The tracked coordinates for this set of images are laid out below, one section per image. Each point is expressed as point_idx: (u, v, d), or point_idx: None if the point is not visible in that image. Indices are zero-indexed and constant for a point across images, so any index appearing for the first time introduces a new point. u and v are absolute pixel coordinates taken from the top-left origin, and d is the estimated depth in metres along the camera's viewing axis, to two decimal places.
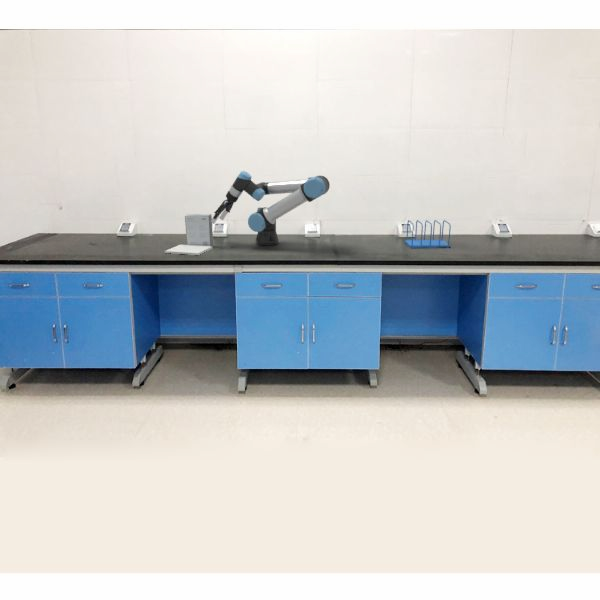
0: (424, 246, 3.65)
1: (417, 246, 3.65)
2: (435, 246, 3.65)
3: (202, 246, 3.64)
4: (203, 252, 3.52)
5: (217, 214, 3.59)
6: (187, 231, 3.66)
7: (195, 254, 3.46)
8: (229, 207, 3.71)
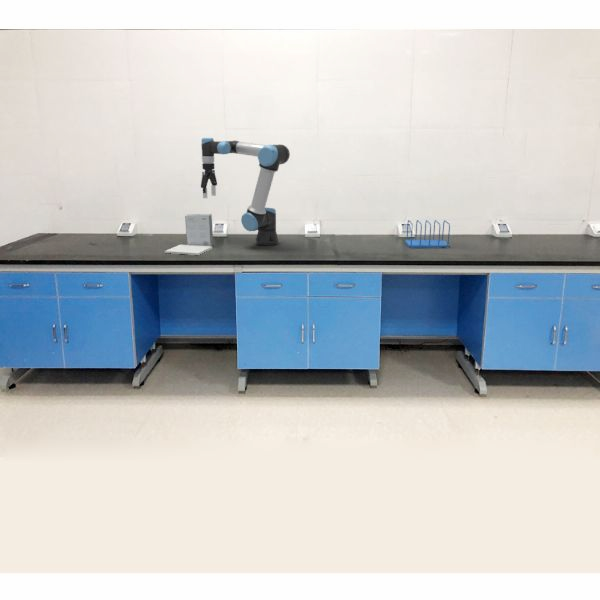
0: (423, 246, 3.65)
1: (416, 246, 3.65)
2: (434, 246, 3.65)
3: (202, 246, 3.64)
4: (203, 252, 3.52)
5: (203, 186, 3.67)
6: (187, 231, 3.66)
7: (195, 254, 3.46)
8: (213, 179, 3.79)
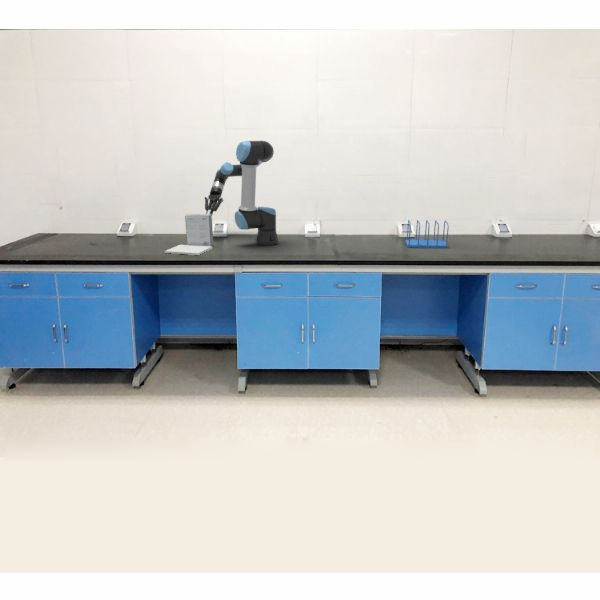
0: (421, 246, 3.65)
1: (414, 246, 3.66)
2: (432, 246, 3.65)
3: (202, 246, 3.64)
4: (203, 252, 3.52)
5: None
6: (187, 231, 3.66)
7: (195, 254, 3.46)
8: (213, 202, 3.83)
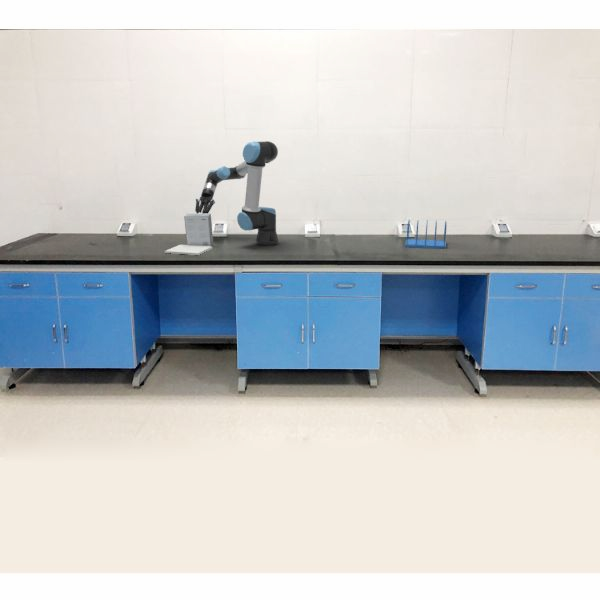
0: (419, 246, 3.66)
1: (412, 245, 3.67)
2: (430, 246, 3.65)
3: (202, 246, 3.64)
4: (203, 252, 3.52)
5: (195, 210, 3.75)
6: (187, 231, 3.66)
7: (195, 254, 3.46)
8: (204, 205, 3.75)
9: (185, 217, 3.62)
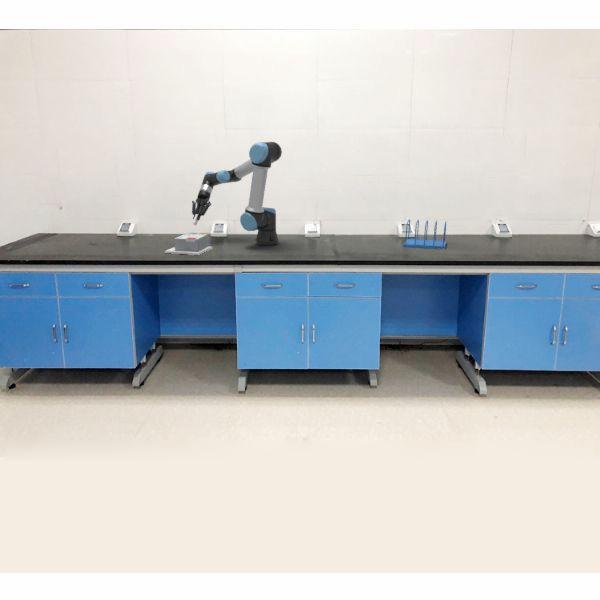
0: (417, 245, 3.67)
1: (410, 245, 3.68)
2: (429, 246, 3.65)
3: None
4: (203, 252, 3.52)
5: (192, 212, 3.67)
6: None
7: (195, 254, 3.46)
8: (200, 206, 3.68)
9: None
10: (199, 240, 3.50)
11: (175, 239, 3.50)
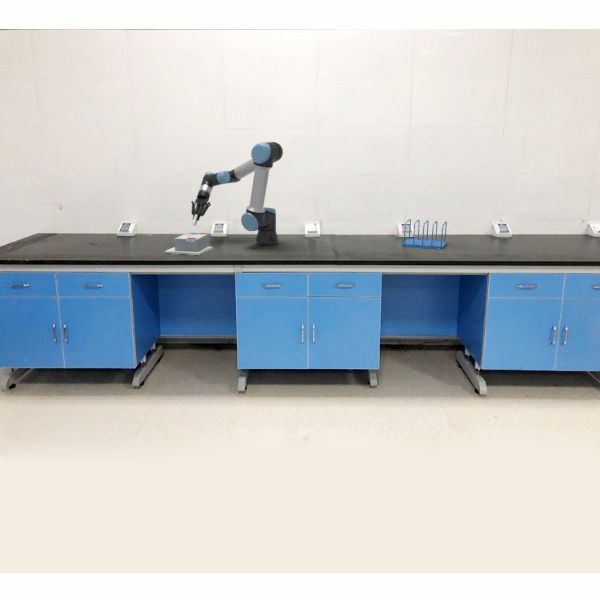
0: (416, 245, 3.67)
1: (409, 245, 3.69)
2: (427, 246, 3.65)
3: None
4: (203, 252, 3.52)
5: (191, 212, 3.65)
6: None
7: (195, 254, 3.46)
8: (200, 207, 3.66)
9: None
10: (199, 240, 3.50)
11: (175, 239, 3.50)
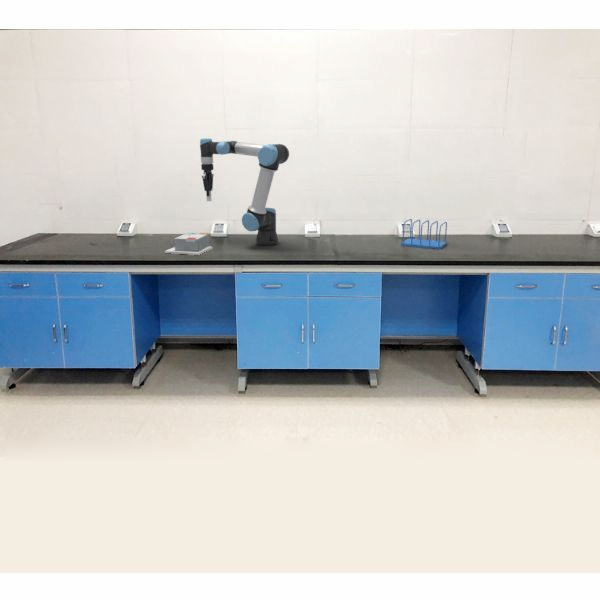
0: (414, 245, 3.68)
1: (407, 244, 3.70)
2: (424, 246, 3.65)
3: None
4: (203, 252, 3.52)
5: (207, 189, 3.73)
6: None
7: (195, 254, 3.46)
8: (210, 181, 3.76)
9: None
10: (199, 240, 3.50)
11: (175, 239, 3.50)
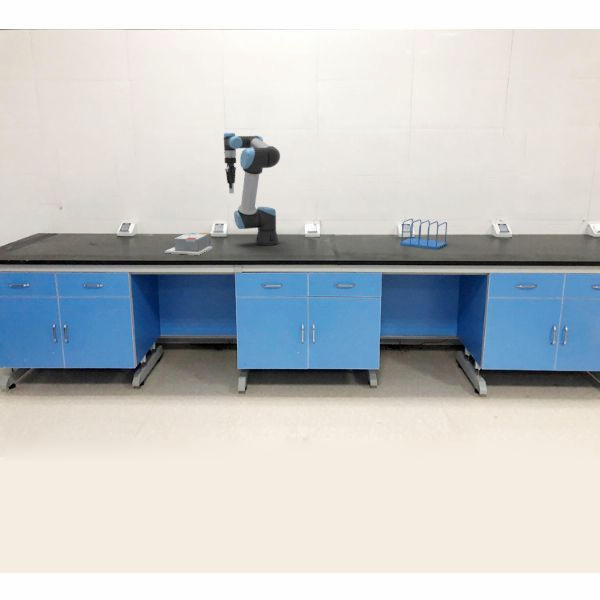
0: (412, 245, 3.69)
1: (406, 244, 3.71)
2: (422, 246, 3.65)
3: None
4: (203, 252, 3.52)
5: (230, 182, 3.88)
6: None
7: (195, 254, 3.46)
8: (233, 174, 3.90)
9: None
10: (199, 240, 3.50)
11: (175, 239, 3.50)
